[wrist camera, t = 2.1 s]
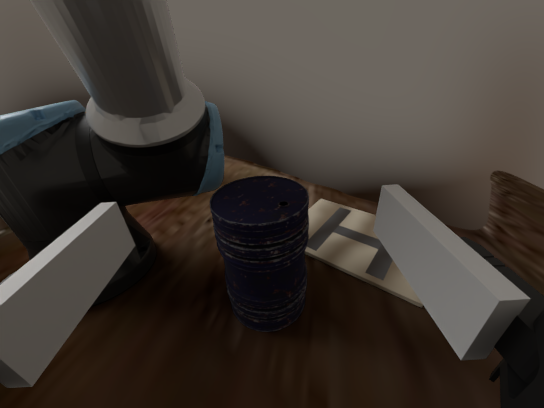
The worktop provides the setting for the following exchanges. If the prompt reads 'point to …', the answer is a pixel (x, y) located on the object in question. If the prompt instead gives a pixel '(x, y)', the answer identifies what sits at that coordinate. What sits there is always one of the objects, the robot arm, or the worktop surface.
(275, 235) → the dark blue can
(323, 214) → the board
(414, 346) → the worktop surface
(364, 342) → the worktop surface
